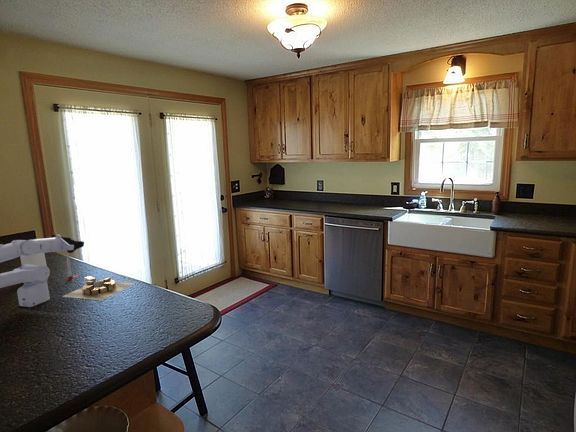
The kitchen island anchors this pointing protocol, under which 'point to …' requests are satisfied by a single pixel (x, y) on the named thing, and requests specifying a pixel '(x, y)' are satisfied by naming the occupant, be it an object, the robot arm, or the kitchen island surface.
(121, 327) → the kitchen island surface
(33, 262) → the skincare box
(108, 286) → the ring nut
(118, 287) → the spindle board
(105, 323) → the kitchen island surface
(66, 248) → the robot arm
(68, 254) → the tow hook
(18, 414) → the kitchen island surface
